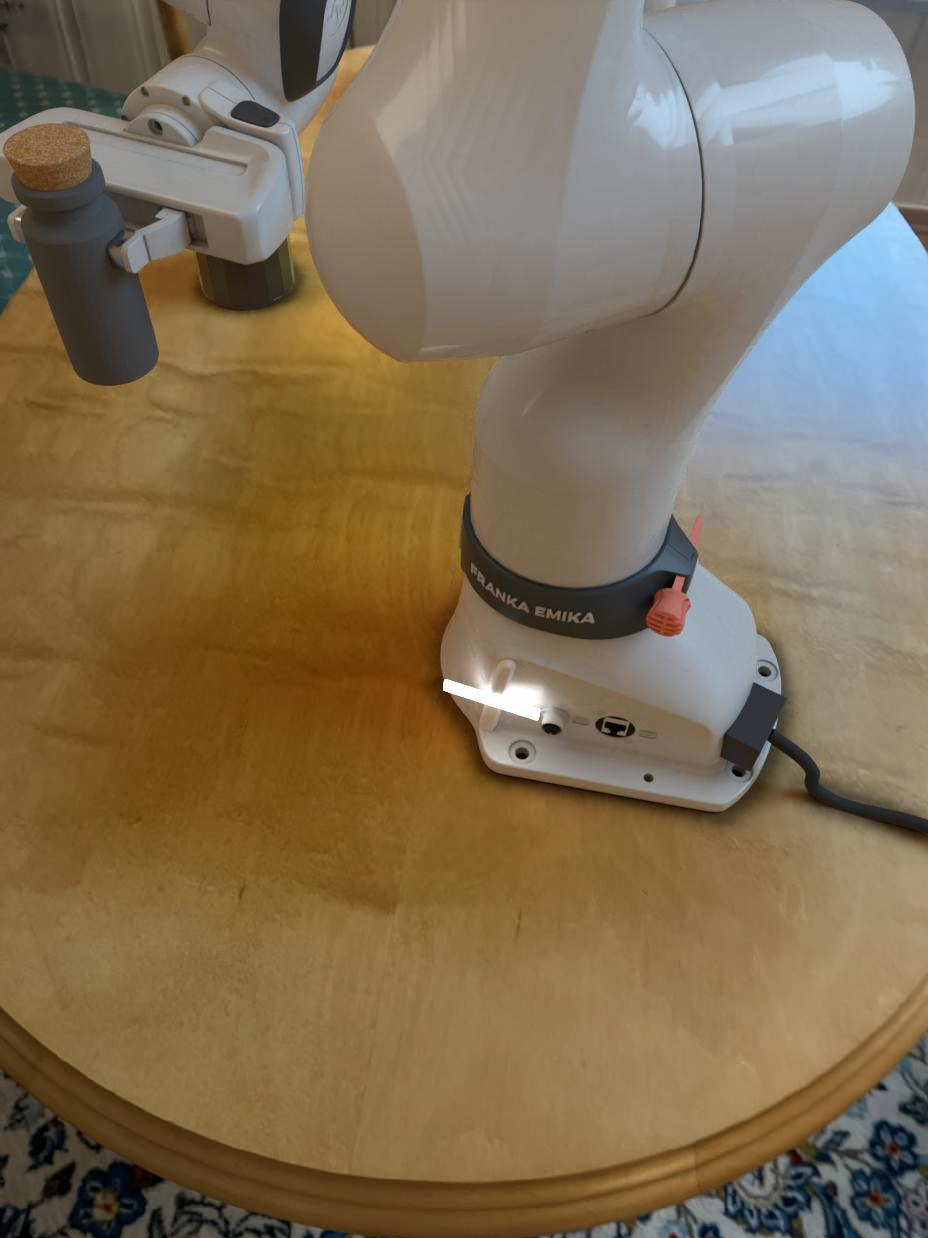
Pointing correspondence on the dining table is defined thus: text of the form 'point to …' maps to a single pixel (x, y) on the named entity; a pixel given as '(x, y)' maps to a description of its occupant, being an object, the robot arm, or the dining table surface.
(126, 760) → the dining table surface
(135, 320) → the bottle
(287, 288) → the tube
